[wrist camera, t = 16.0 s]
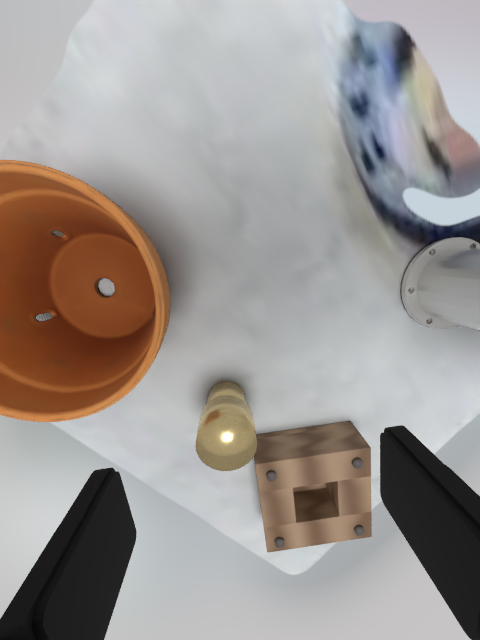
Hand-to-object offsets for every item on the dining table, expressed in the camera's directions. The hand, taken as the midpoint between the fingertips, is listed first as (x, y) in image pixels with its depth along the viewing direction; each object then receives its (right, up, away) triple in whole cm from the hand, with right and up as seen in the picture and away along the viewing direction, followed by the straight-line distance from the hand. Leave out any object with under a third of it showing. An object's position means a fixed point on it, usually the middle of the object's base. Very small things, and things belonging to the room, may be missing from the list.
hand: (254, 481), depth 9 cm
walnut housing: (+10, -19, +34) cm, 41 cm away
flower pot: (-18, +10, +26) cm, 33 cm away
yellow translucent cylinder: (-3, -6, +31) cm, 31 cm away
